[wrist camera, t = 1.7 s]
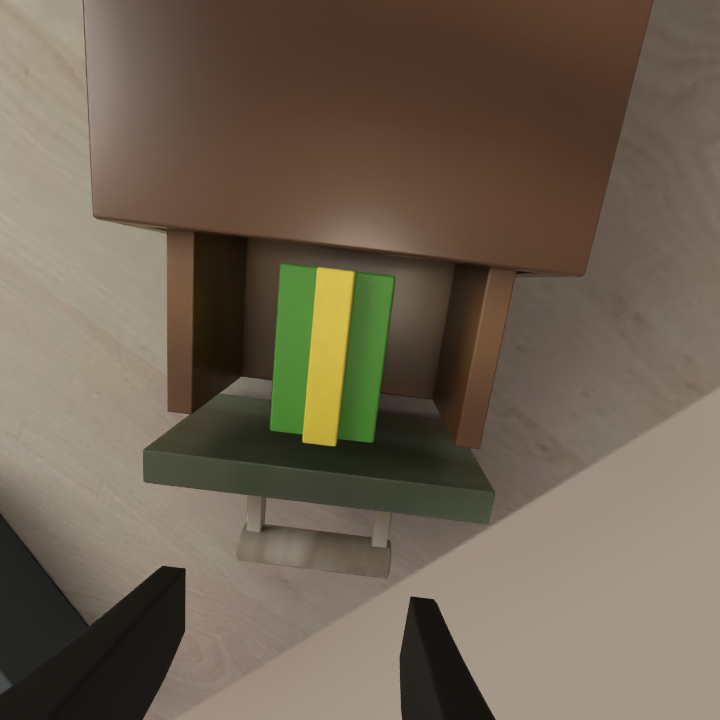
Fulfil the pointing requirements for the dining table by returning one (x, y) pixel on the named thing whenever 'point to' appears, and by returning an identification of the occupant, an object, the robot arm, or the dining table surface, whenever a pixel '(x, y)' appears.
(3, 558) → the dark grey square tile
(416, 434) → the drawer
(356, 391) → the yellow-striped green block
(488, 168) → the cabinet
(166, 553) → the dining table surface
